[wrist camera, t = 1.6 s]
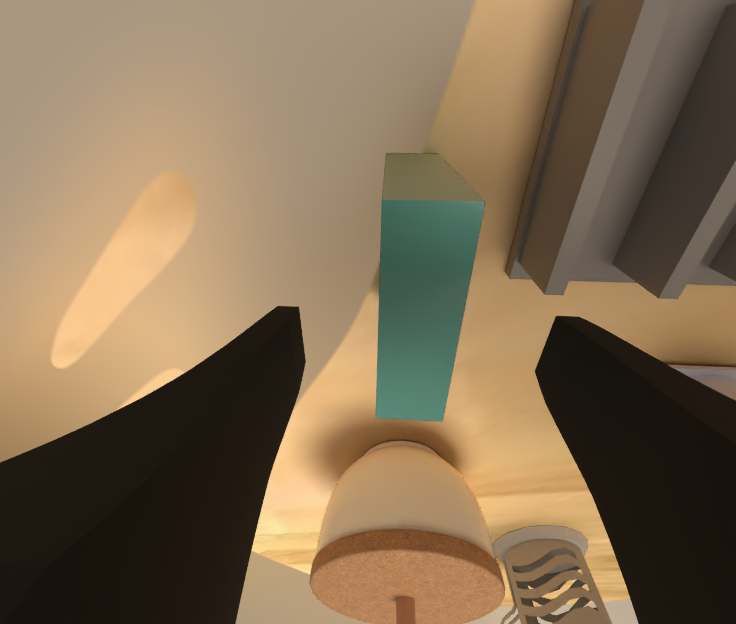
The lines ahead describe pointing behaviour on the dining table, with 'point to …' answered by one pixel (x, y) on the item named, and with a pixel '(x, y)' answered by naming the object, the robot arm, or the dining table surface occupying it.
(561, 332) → the robot arm
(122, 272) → the dining table surface
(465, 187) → the teal upright slab
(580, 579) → the french press
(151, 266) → the dining table surface
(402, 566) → the lidded bowl
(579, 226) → the rack
